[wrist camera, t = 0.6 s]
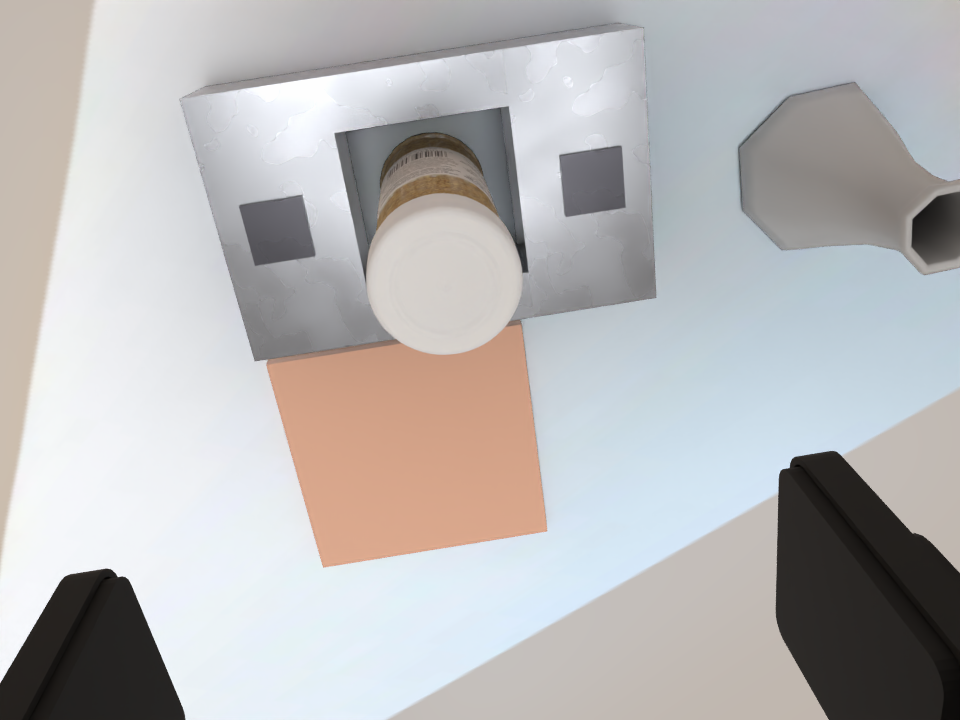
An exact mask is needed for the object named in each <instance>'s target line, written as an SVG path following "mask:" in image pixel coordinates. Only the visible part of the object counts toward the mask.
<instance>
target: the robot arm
mask: <svg viewBox="0 0 960 720" xmlns="http://www.w3.org/2000/svg"><path fill="white" fill-rule="evenodd" d="M778 497H779V498H778V539H777V581H776V618H777V624H778V627H779V630H780V633H781V636H782V638H783V640H784V642H785V643H786V645H787V647H788V648H789V650H790V652H791V654H792V656H793V658H794V659H795V661H796V663H797V664H798V666H799V668H800V670H801V672H802V673H803V675H804V677H805V679H806V680H807V682H808V684H809V686H810V687H811V689H812V691H813V693H814V695H815V696H816V698H817V700H818V702H819V703H820V705H821V707H822V709H823V710H824V712H825V714H826V716H827V717H828V719H829V720H960V573H959V572H958V571H957V570H956V569H955V568H954V567H953V565H952V564H951V563H950V562H949V561H948V560H947V559H946V558H945V557H944V556H943V555H942V554H941V553H940V552H939V550H938V549H937V548H936V547H935V546H934V545H933V544H932V543H931V542H930V541H928V540H927V539H926V538H925V537H924V536H922V535H919V534H916V533H914V534H912V533H911V532H910V531H909V529H908V528H907V527H906V526H905V525H904V524H903V523H902V522H901V521H900V520H899V518H898V517H897V516H896V515H895V514H894V513H893V512H892V511H891V510H890V509H889V508H888V506H887V505H885V503H884V502H883V501H882V500H881V499H880V498H879V497H878V496H877V494H876V493H875V492H874V491H873V490H872V489H871V488H870V487H869V486H868V485H867V484H866V482H865V481H864V480H863V479H862V478H861V477H860V476H859V475H858V474H857V473H856V471H855V470H854V469H853V468H852V467H851V466H850V465H849V464H848V463H847V462H846V461H845V459H844V458H843V457H842V456H841V455H840V454H838V453H837V452H835V451H829V452H822V453H816V454H810V455H804V456H798V457H794V458H793V459H792V461H791V463H790V468H788V469H783V470H781V472H780V474H779V495H778ZM0 720H185V714H184V711H183V707H182V705H181V703H180V700H179V698H178V695H177V693H176V691H175V688H174V686H173V684H172V681H171V679H170V676H169V674H168V672H167V669H166V667H165V664H164V662H163V660H162V657H161V655H160V652H159V650H158V648H157V645H156V643H155V641H154V638H153V636H152V633H151V631H150V629H149V626H148V624H147V621H146V619H145V617H144V614H143V612H142V609H141V607H140V605H139V602H138V600H137V598H136V595H135V593H134V590H133V588H132V586H131V584H130V582H129V580H128V579H127V578H126V577H117V575H116V573H115V572H113V571H112V570H111V569H101V570H95V571H89V572H83V573H77V574H70V575H68V576H65V577H64V578H63V579H62V580H61V582H60V583H59V585H58V587H57V588H56V590H55V592H54V593H53V595H52V597H51V598H50V600H49V602H48V603H47V605H46V607H45V609H44V610H43V612H42V614H41V615H40V617H39V619H38V620H37V622H36V624H35V625H34V627H33V629H32V631H31V632H30V634H29V636H28V637H27V639H26V641H25V642H24V644H23V646H22V647H21V649H20V651H19V653H18V654H17V656H16V658H15V659H14V661H13V663H12V664H11V666H10V668H9V669H8V671H7V673H6V675H5V676H4V678H3V680H2V681H1V683H0Z"/></svg>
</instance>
